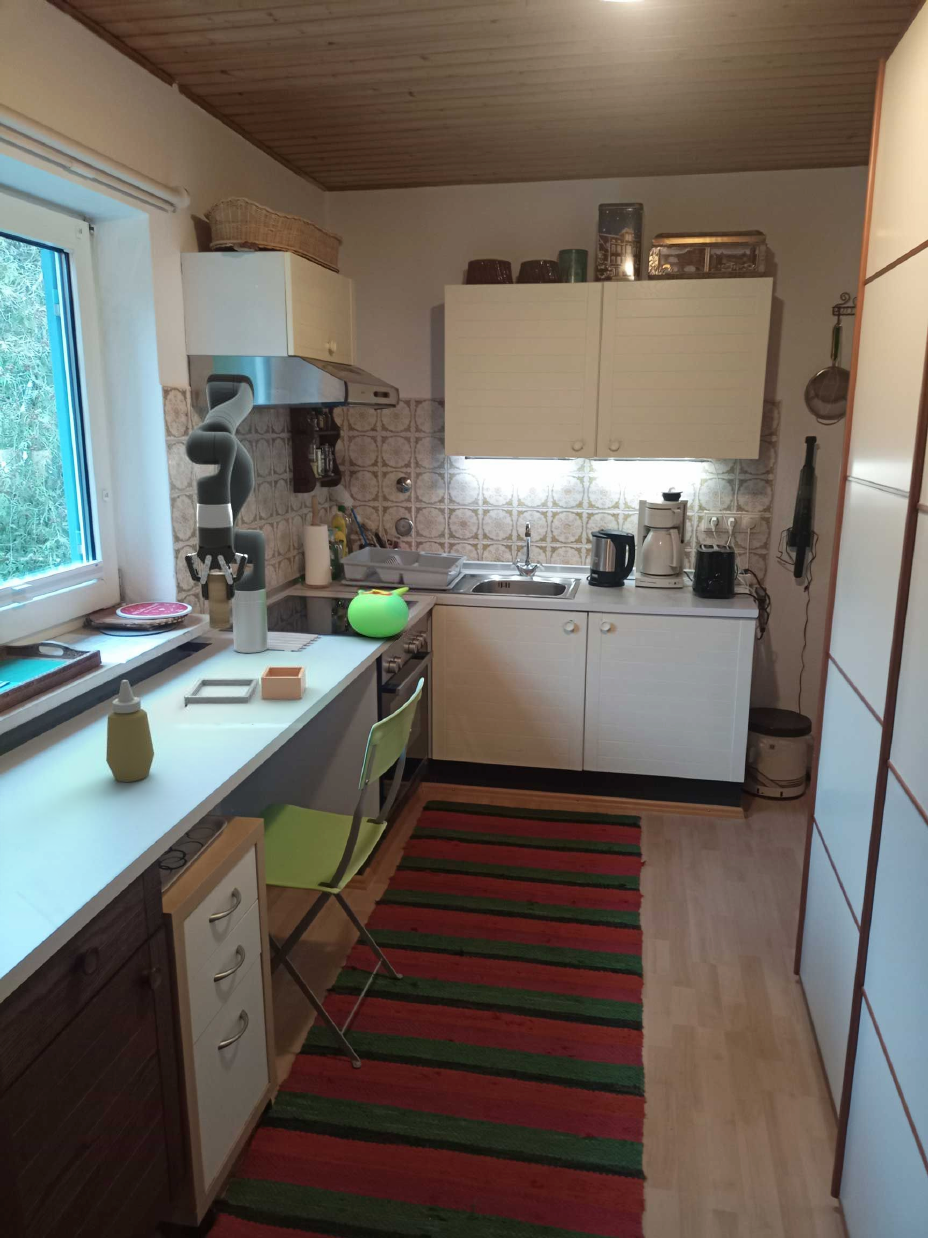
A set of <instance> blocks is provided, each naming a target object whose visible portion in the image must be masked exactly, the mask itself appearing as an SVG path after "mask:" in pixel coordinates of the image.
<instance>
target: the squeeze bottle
mask: <svg viewBox="0 0 928 1238" xmlns="http://www.w3.org/2000/svg"><path fill="white" fill-rule="evenodd" d="M111 704H112V705H111V706H112V711H111V712H110V713H109V714H108V716H107V729H106V730H107V731H106V756H105V757H106V759H105V761H106V763H107V765H108V767H109V770H110V771H111V774H112V776H113V778H114V779H115V780H116V781H119V782H121V783H122V782H126V783H128V782H129V783H131V782H136V781H141V780H143V779H145V778H147V777H148V776H149V774H150V771H151V767H152V764H153V760H154V757H155V751H154V744H153V740H152V734H151V728H150V724H149V718H148V712H146V710H144V709H143V708H142V704H141V698H140V697H137V696H134V694H133V691H132V688H131V685H130V682H129V680H127V679H123V680H121V681H120V687H119V693H118V698H116V699H113V701H112V702H111Z"/></svg>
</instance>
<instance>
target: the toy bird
mask: <svg viewBox="0 0 928 1238" xmlns="http://www.w3.org/2000/svg"><path fill="white" fill-rule="evenodd" d="M409 589H410V588H409V587H400V588H397V589H394V590H379V589H371V590H367V591H365V590H363V589H359V590H358V591H357V593H358V595H357V596H355V597H354V598H353V599H352V600H351V602H350V603H349V606H348V608H347V618H348V622H349V624H350V626H351V627H352V628H353V629H354V631H356V632H357V633H359V634H361V635H364V636H366V637H370V638H387V637H391V636H395V635H396V634H398V633H400V632H402V630H403V629H404V628H406V625H407V624H408V621H409V617H410V615H409V614H410V612H409V607H408V605H407V602H405V599H403V598H402V597H401V596H402V595H404V594H406V592H408V590H409Z"/></svg>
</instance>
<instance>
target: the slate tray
mask: <svg viewBox="0 0 928 1238" xmlns="http://www.w3.org/2000/svg"><path fill="white" fill-rule="evenodd" d="M259 684H260V679H259V678H258V677H257V678H253V677H251V678H247V677H245V678H241V677H238V678H237V677H236V678H235V677H234V678H221V677H219V678H212V677H211V678H198V679H197V680H196V681H195V683H194V684H193V686H192V687H191V688H190V689H189V690H188V691H187V693H186V694H185V696H184V708H187V707H188V705H189V704H223V703H224V704H233V703H234V704H237V703H238V704H239V703H240V704H241V703H242V704H246V703H247V704H248V703H250V701H251V699H252V697H253V695H254V693H255V691H256V690H257V688H258V686H259ZM203 686H249V687H248V689H247V691H246V692H245V693H244V695H196V694H197V693H198V692H199V691H200V689H201V688H202V687H203Z"/></svg>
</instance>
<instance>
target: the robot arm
mask: <svg viewBox="0 0 928 1238" xmlns="http://www.w3.org/2000/svg"><path fill="white" fill-rule="evenodd" d="M205 388H206V389H205V390H206V399H207V404H208V405H207V407H208V413H207V415H206V417H205V419H204V420H203V422H202V423H201V424H200V425H198V426H197V427H195V428H194V429H193V430H191V432H190V433H189V434H188V436H187V438H186V441H185V446H184V451H185V454H186V457H187V459H188V460H189V461H190V463H193V464H194V465H200V466H202V465H204V466H207V465H208V466H210V465H211V466H212V465H213V466H215V467H216V473H213V474H208V475H204V476H200V477H198V478H197V480H196V486H195V487H196V500H197V501H196V503H197V506H196V525H197V526H196V527H197V543H198V548H197V550H196V552H195V553H188V554H187V555H185V556H184V561H185V564H186V567H187V569H188V572H189V574H190V578H191V580H192V581H193V582H198V583H199V584H200V587H201V597H202V598H203V599H204V601H208V583H207V576H208V574H210V573H212V571H213V570H218V571H222V573H224V575H225V577H226V579H227V582H228V584H227V597H228V600H229V601H231V606H232V608H231V609H232V633H233V635H232V636H233V637H232V638H233V650H234V651H235V652H239V653H245V654H246V653H247V654H248V653H249V654H251V653H261V652H265V651H267V650H268V648H269V640H268V638H269V637H268V636H269V635H268V634H269V632H268V610H267V606H268V605H267V604H268V603H267V586H266V585H267V584H266V583H267V582H266V549H267V548H266V536H265V534H264V532H263V531H262V530H258V529H237V527H236V523H237V520H238V518H239V515H240V513H241V511H242V509H243V508H244V506H245V504H246V503H247V502H248V500H249V498H250V496H251V495H252V493H253V491H254V488H255V474H254V473H255V472H254V463H253V459H252V457H251V456H250V453H248V451H247V449H246V448H245V447H244V446H243V445H242V443H241V441H239V439H238V438H237V437H236V436H235V433H236V430H237V428H238V426H239V425H240V424H241V423H242V421H244V419H245V418H247V416H248V415H249V414H250V412H251V411H252V409H253V406H254V403H255V389H254V388H255V387H254V384H253V380H252V379H251V377H250V376H248V375H245V374H239V373H237V374H235V373H232V374H231V373H211V374H210V375H208V377H207V379H206V387H205ZM198 560H199V561H200V562H201V563H202V565H203V568H202V572H201V575H200V573H199V571H198V568H197V567H198V566H197V564H196V563H197V562H198ZM231 564H232V565H238V567H237V572H236V575H234V573H233V568H232V566H231ZM247 565H252V568H251V569H250V570H248V571H247V572H245V571H246V567H247Z"/></svg>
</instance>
